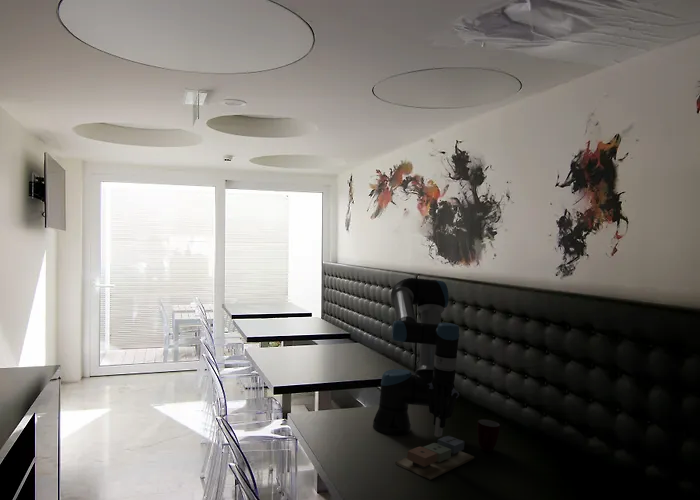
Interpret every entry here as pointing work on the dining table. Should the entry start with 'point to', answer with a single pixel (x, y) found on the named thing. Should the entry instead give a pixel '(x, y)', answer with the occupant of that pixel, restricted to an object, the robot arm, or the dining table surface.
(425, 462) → the tile
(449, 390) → the robot arm
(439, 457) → the tile
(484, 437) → the mug
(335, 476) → the dining table surface
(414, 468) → the board
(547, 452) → the dining table surface
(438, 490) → the dining table surface
